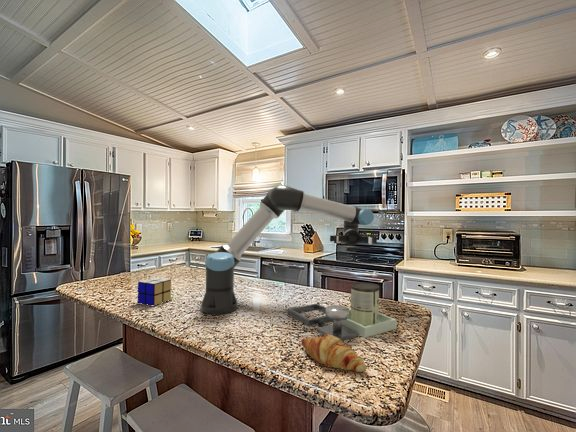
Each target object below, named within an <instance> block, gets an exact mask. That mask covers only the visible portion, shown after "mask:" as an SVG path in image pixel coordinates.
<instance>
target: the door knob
mask: <svg viewBox="0 0 576 432" xmlns="http://www.w3.org/2000/svg"><path fill="white" fill-rule="evenodd" d="M349 310H350V308H349V307H347V306H344V305H337V304H335V305H334V304H333V305H327V306H326V313H325V316H326V317H328V318H330V319H333V321H332V324H328V325H327V324H325V322H324V323H322V322H320V323H318V324H317V325H318V327H316V332H317V333H319V334H320V335H322V337H323V336H324V335H326V334H328V335H332V336H335V337H338V338H339V339H340V340H341V341H342V342H343V341H347V340H350V339H353V338H357V337H359V335H358V332H356V331H354V330H352V329H350V328H348V327H346V326H344V325H342V320H345V319H348V318H349Z"/></svg>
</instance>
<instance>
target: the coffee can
mask: <svg viewBox="0 0 576 432" xmlns="http://www.w3.org/2000/svg"><path fill="white" fill-rule="evenodd" d="M379 307H380V285H379V284H376V283H372V282H364V281H359V282H357V281H356V282H352V283H351V284H350V310H351V320H352V321H354V322H356V323H359V324H361V325H363V326H368V325H372V324H376V323H379V313H380V311H379V310H380V309H379Z"/></svg>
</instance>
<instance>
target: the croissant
mask: <svg viewBox="0 0 576 432" xmlns="http://www.w3.org/2000/svg"><path fill="white" fill-rule="evenodd" d="M301 345H302V347H303V348H304V349H305V353H307V355H308V356H309V357H311V358H312V359H313V360H314V361H315V362H317V363H319V362H320V363H319V364H322V365H323V364H324V366H325V365H326V366H325V367H327V366H329V367H328V368H332V367H334V368H333V369H339V370H342V369H344V371H351V370H352V371H353V372H354V373H364V372H366V371H367V365H366V364H365V362H364V360H363V359H362V357H361V356H360V355H358V354H357V353H356V351H355V350H354V348H352V346H350V345H347V344H344V343H343V341H341V340H340V339H339V338H338V337H335V336H332V335H328V334H326V335H324V336H323V335H322V336H316V337H315V338H313V337H308V338H301Z"/></svg>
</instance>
